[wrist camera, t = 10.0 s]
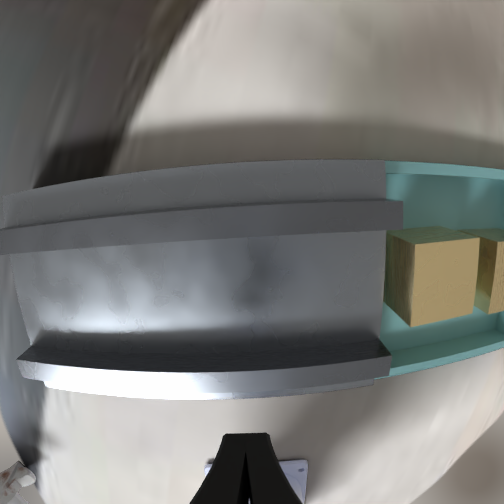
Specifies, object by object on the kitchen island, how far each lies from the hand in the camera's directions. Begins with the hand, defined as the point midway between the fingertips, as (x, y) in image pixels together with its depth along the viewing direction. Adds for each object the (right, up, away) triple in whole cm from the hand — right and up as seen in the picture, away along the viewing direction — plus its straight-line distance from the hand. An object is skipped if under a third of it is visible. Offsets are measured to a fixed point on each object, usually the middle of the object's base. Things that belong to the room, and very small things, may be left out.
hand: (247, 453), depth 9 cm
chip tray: (+13, +6, +9) cm, 17 cm away
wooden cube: (+9, +6, +8) cm, 14 cm away
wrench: (-33, -22, +15) cm, 43 cm away
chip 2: (+13, +5, +7) cm, 15 cm away
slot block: (-3, +5, +9) cm, 11 cm away
